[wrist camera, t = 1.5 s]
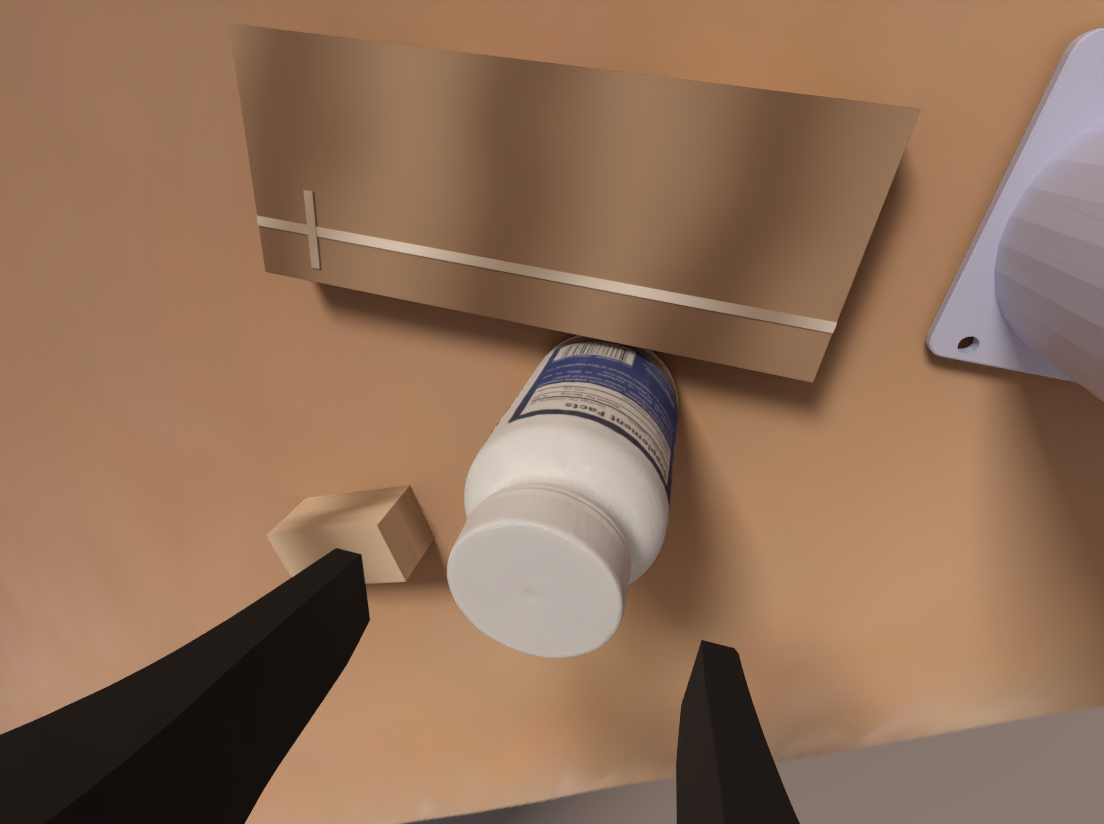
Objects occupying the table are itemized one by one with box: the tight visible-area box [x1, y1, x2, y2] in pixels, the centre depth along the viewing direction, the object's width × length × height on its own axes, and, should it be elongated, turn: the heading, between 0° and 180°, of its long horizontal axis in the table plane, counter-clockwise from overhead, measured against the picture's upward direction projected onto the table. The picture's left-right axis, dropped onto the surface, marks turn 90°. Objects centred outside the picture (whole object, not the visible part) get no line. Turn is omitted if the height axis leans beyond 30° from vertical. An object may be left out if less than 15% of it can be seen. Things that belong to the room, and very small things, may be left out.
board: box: [229, 24, 921, 382], centre depth 16 cm, size 18×7×2 cm, turn 83°
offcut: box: [266, 485, 434, 584], centre depth 25 cm, size 6×3×3 cm, turn 107°
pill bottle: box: [447, 335, 678, 658], centre depth 16 cm, size 5×5×10 cm
